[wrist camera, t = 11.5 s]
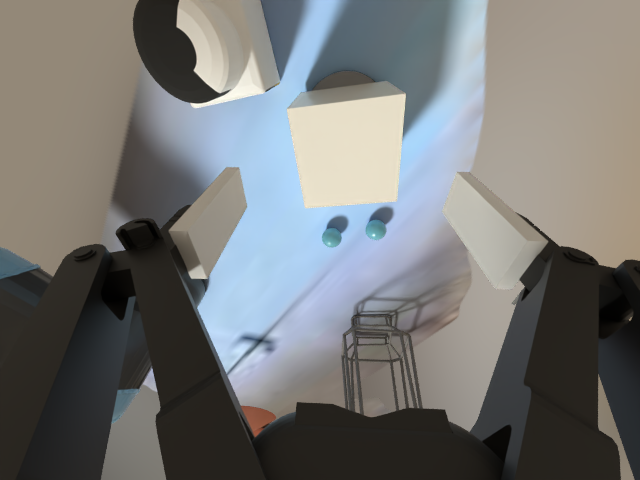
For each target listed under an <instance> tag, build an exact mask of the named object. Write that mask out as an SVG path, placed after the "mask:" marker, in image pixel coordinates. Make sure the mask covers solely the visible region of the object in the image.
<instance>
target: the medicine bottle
mask: <svg viewBox="0 0 640 480" xmlns="http://www.w3.org/2000/svg"><path fill="white" fill-rule="evenodd" d="M133 31H134V38H135V42H136V46H137V49H138V52H139V54H140V57H141V59H142V61H143V63H144V65H145V67H146V68H147V70H148V71H149V73H150V74H151V76H152V77H153V78H154V79H155V81H156V82H157V83H158V84H159V85H160V86H161V87H162V88H163V89H165V90H166V91H167V92H168V93H170V94H171V95H172V96H174V97H176V98H178V99H180V100H182V101H185V102H189V103H190V104H191V105H192V107H194V108H200V107H204V106H209V105H213V104H218V103H222V102H227V101H231V100H236V99H240V98H245V97H249V96H254V95H258V94H263V93H265V92H266V91H268V90H270V89H271V88H273V87H275V86H276V85H278V84H279V83H280V78H279V74H278V70H277V66H276V62H275V58H274V54H273V50H272V45H271V41H270V37H269V33H268V29H267V25H266V21H265V17H264V13H263V9H262V5H261V1H260V0H139V1H138V3H137V5H136V8H135V11H134V18H133Z"/></svg>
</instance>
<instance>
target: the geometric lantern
mask: <svg viewBox="0 0 640 480" xmlns="http://www.w3.org/2000/svg"><path fill="white" fill-rule="evenodd" d="M355 317H385V318H386V324H387V325H357V320H356V318H355ZM354 318H355V325H354V326H353V319H354ZM387 318H389V324H388V320H387ZM351 326H352V328H350V329H349V330H348V331H346V332H345V333H344V334H343V341H342V370H343V383H344V396H345V409H348V400H349V410H350V411H353V412H355V402H354V380H353V362H355V363H356V374H357V384H358V395H359V406H360V414H362V415H364V411H363V401H362V392H361V382H360V372H359V362H381V363H390V366H391V373H392V381H393V389H394V397H395V405H396V411H399V406H398V399H397V392H396V385H395V378H394V370H393V362H396V361H400V365H401V373H402V381H403V388H404V396H405V404H406V408H409V404H408V397H407V391H406V383H405V377H404V369H403V361H402V358H403V355H404V359H405V364H406V370H407V375H408V380H409V385H410V390H411V395H412V401H413V406H414V408H417V403H416V398H415V393H414V388H413V383H412V378H411V374H410V369H409V364H408V359H407V354H406V347H407V345H408V342H409V346H410V353H411V359H412V365H413V372H414V378H415V385H416V391H417V398H418V404H419V408H421V409H423V408H422V402H421V395H420V390H419V384H418V377H417V371H416V365H415V359H414V353H413V347H412V341H411V336H410V335H409V334H408V333H405V332H403V331H401V330H399V329H397V328H395V327H393V326H392V322H391V317H388V316H354V317H353V318H352V319H351ZM356 326H364V327H389V329H388V330H384V329H366V328H355V327H356ZM392 329H394V330H392ZM355 331H369V332H387V333H388V335H387V336H385V337H357V336H356V333H355ZM351 332H352V336H353V343H352V344H351V346H350V347H349V348H348V349H347V344H346V335H348V334H349V333H351ZM392 333H399V335H400V340H401V345H402V353H401V356H400V355H399V354H398V353H397V351H396V350H395V349H394V347H393V346H392V345H391V336H392ZM402 334H403V335H405V336H407V339H406V342H405V344H404V340H403V335H402ZM387 337H388V339H389V343H387V339H386V338H387ZM356 338H357V343H356ZM358 338H367V339H385V344H358ZM353 345H354V352H353V354H352V357H351V359H350V358H348V354H347V351H348V350H349V349H350V348H351V347H352V346H353ZM388 345H390V346H391V347H392V349H393V350H394V352H395V353H396V354H397V356H398V357H399V358H397V359H393V360H391V356H390V352H389V348H388ZM357 346H386V347H387V351H388V355H389V358H390V360H369V359H358V353H357ZM344 354H345V355H344ZM354 354H355V359H353V356H354ZM344 358H345V364H346V376H347V388H348V400H347V388H346V376H345V365H344ZM348 360H349V361H350V364H351V387H350V376H349V365H348ZM351 392H352V398H351Z"/></svg>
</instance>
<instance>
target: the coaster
mask: <svg viewBox="0 0 640 480" xmlns="http://www.w3.org/2000/svg"><path fill="white" fill-rule="evenodd" d="M374 82H375V81H373V80H372V79H371V78H369V77H368V76H366V75H364V74H362V73H359V72H355V71H340V72H336V73H333V74H331V75H329V76H327V77H325V78H324V79H322V80H321V81H320V82H319V83H318V84H317V85H316V86H315V87H314V88H313V89H312V91H315V90H323V89H330V88H337V87H345V86H352V85H359V84H367V83H374Z"/></svg>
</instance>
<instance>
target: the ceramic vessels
mask: <svg viewBox="0 0 640 480" xmlns="http://www.w3.org/2000/svg"><path fill="white" fill-rule="evenodd" d="M241 408H242V410H243V412H244V414H245V416H246V418H247V420H248V423H249V425H250V427H251V429H252V431H253V433H254V436H255V437H256V436H257V435H258V434H259V433H260V432H261V431H262V430H263V429H264V428H261V427H263V426H265V425H266V424H268V423H270V422H272V421H274V420H275V419H276V416H275V415H274V414H273V413H271V412H269V411H267V410H264V409H261V408H256V407H250V406H241Z"/></svg>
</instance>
